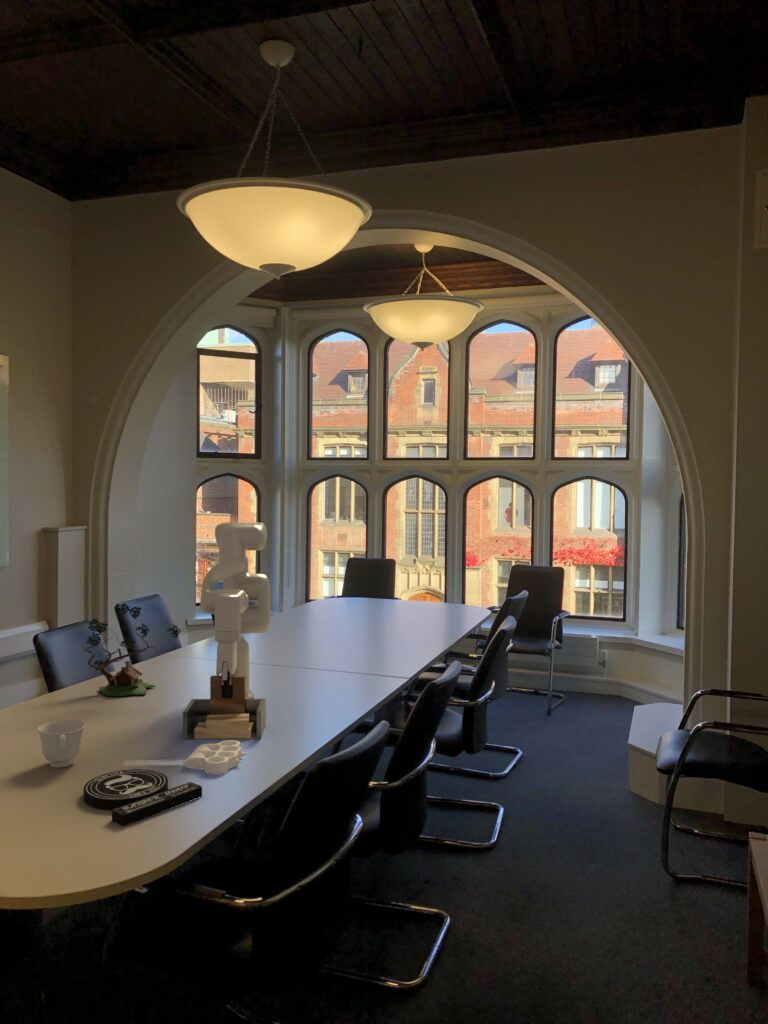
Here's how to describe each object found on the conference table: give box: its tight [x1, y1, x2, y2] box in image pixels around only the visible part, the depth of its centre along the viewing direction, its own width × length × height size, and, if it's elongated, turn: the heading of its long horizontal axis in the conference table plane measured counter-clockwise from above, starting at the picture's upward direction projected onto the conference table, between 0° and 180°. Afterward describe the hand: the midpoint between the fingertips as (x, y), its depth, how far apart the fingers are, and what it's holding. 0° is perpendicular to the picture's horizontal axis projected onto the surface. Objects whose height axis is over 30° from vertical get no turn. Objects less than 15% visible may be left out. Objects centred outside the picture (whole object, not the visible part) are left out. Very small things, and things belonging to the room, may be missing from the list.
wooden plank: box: [209, 675, 245, 715], centre depth 241 cm, size 2×10×15 cm, turn 92°
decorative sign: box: [83, 768, 203, 827], centre depth 192 cm, size 22×3×25 cm
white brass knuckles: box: [183, 739, 248, 775], centre depth 215 cm, size 3×18×15 cm
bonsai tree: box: [83, 602, 181, 698], centre depth 280 cm, size 35×24×32 cm
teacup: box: [36, 719, 87, 768], centre depth 212 cm, size 12×15×10 cm
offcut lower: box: [194, 722, 254, 738], centre depth 234 cm, size 7×16×2 cm, turn 92°
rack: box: [182, 698, 267, 741], centre depth 236 cm, size 13×22×9 cm, turn 92°
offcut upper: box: [206, 714, 249, 730], centre depth 234 cm, size 6×12×2 cm, turn 98°
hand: (227, 696), depth 240 cm, fingers closed on wooden plank, 2 cm apart
